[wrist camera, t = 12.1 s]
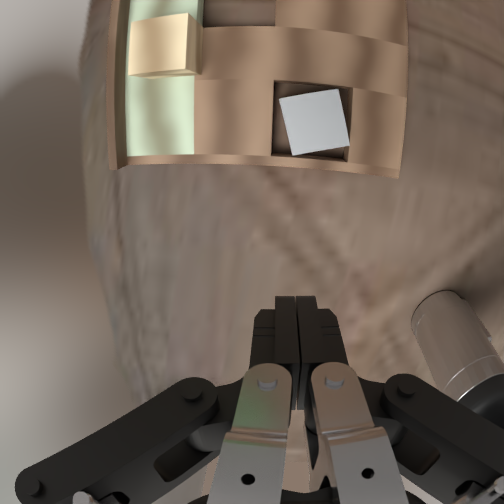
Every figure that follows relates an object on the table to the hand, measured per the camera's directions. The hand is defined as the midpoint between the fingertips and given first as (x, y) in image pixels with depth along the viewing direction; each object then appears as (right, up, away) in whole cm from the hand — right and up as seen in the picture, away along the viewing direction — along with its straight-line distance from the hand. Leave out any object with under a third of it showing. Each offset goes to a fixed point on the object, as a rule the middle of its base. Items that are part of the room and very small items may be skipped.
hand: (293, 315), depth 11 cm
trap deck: (0, +23, +16) cm, 28 cm away
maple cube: (-9, +23, +14) cm, 29 cm away
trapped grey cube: (+5, +17, +19) cm, 26 cm away
